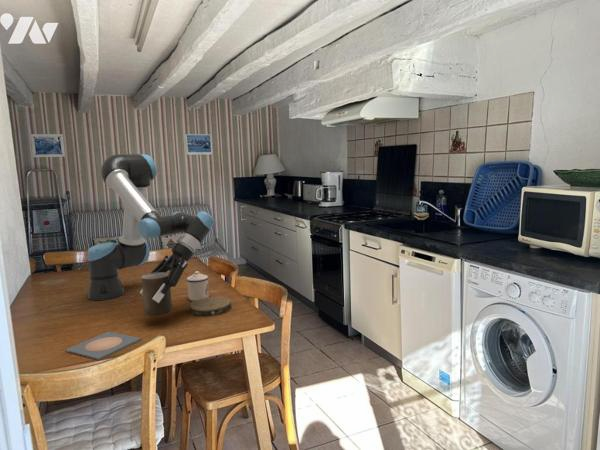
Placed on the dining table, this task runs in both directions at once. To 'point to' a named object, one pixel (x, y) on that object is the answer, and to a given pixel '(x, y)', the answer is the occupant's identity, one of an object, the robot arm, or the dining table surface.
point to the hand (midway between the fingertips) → (149, 297)
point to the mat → (103, 345)
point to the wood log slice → (210, 306)
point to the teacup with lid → (197, 286)
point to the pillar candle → (150, 288)
